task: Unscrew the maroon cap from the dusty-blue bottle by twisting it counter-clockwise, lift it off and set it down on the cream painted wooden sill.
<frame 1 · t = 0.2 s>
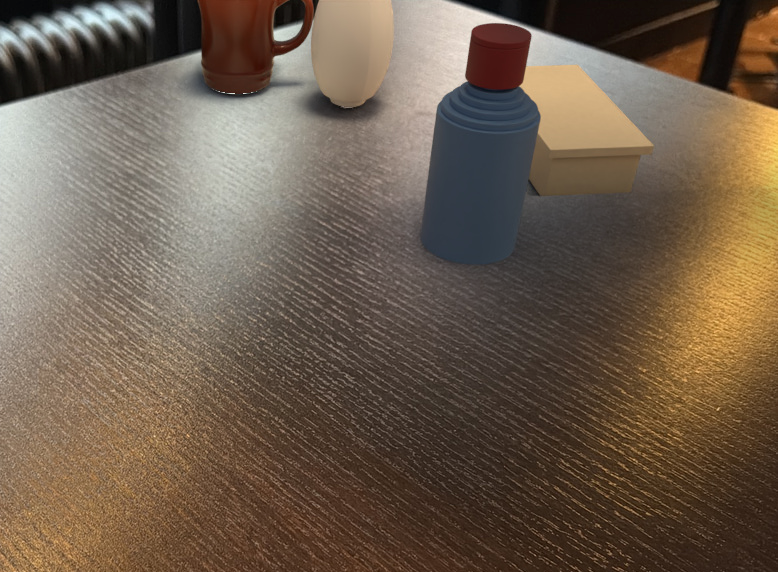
cap: (500, 38, 67), point 17 cm above the table, screwed on, not yet turned
sill: (554, 155, 92), on the table
bottle: (464, 258, 78), on the table
mug: (252, 86, 105), on the table
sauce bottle: (347, 106, 101), on the table
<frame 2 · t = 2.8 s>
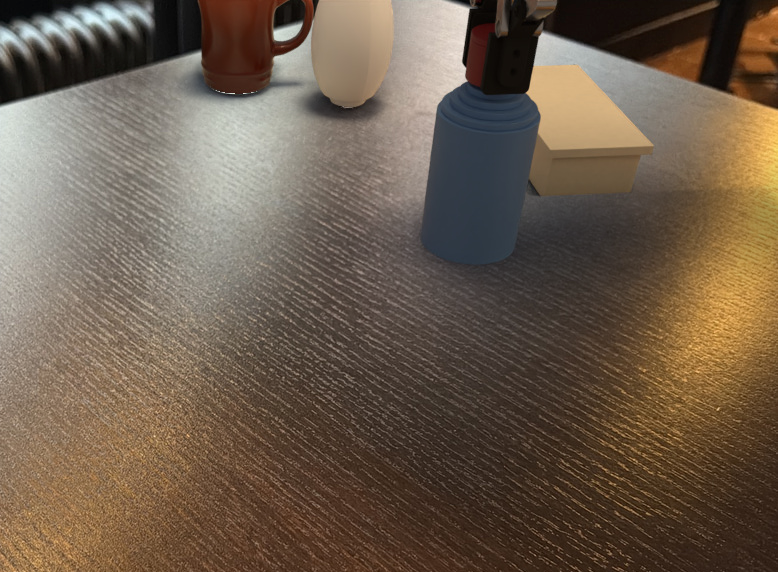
hand: (494, 76, 69), 14 cm above the table, tool pointing down, fingers closed on cap, 3 cm apart
cap: (500, 38, 67), point 17 cm above the table, screwed on, not yet turned, touching gripper
everything else where it was.
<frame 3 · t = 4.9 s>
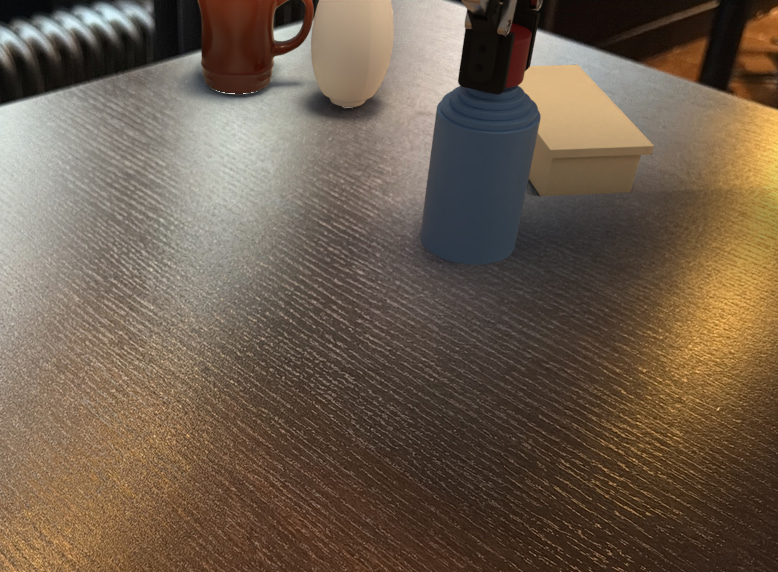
hand: (494, 75, 69), 15 cm above the table, tool pointing down, fingers closed on cap, 3 cm apart
cap: (500, 37, 67), point 17 cm above the table, turned 142° so far, risen 0.1 cm, still on its thread, touching gripper
everything else where it was.
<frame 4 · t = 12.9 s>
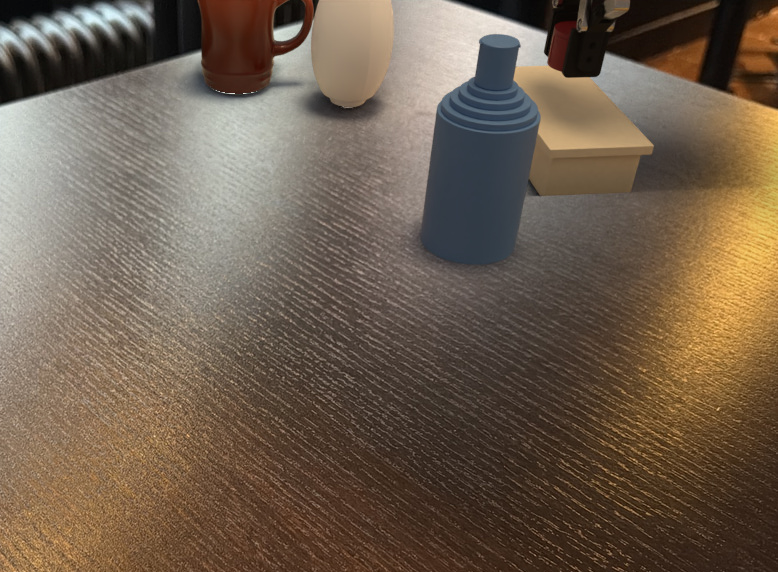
hand: (571, 63, 87), 9 cm above the table, tool pointing down, fingers closed on cap, 3 cm apart
cap: (577, 33, 85), point 11 cm above the table, off its thread, touching gripper
everything else where it was.
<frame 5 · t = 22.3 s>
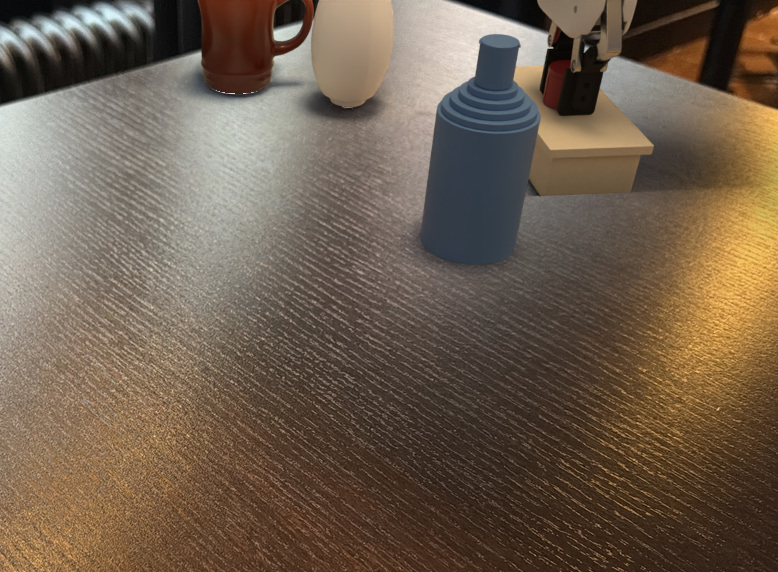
hand: (566, 101, 89), 5 cm above the table, tool pointing down, fingers closed on cap, 3 cm apart
cap: (571, 72, 87), point 8 cm above the table, off its thread, touching gripper
everything else where it was.
when the fingers open (7 cm above the table, at t = 23.1 s): cap drops 2 cm, resting on sill.
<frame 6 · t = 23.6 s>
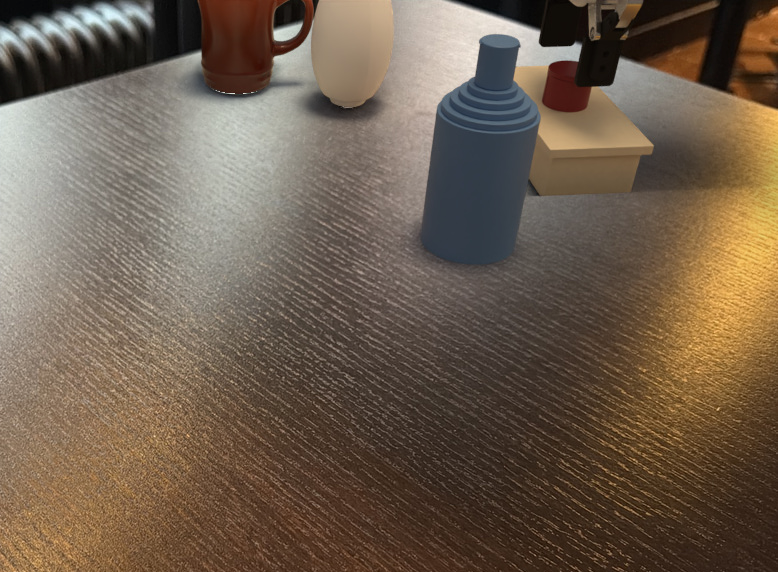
hand: (573, 64, 87), 9 cm above the table, tool pointing down, fingers open, 8 cm apart
cap: (571, 73, 87), point 8 cm above the table, off its thread, touching sill
everything else where it was.
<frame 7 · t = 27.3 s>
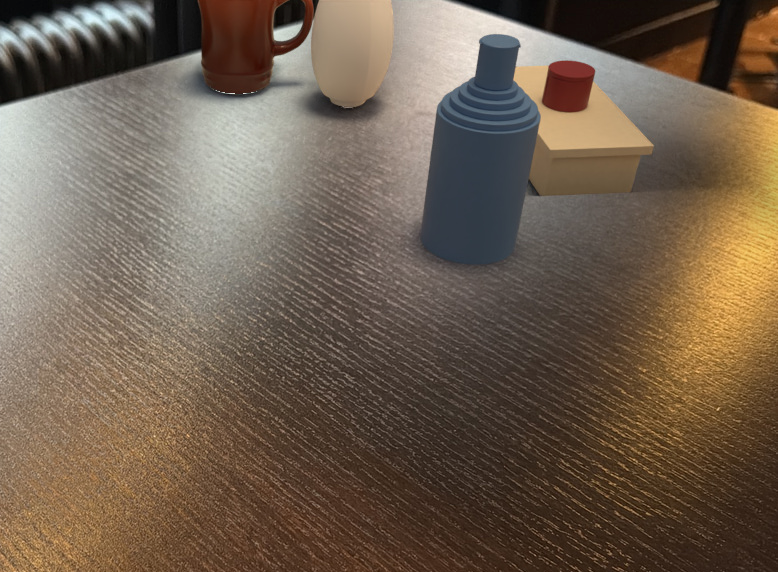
nothing on the table moved.
at the end: cap inside the target area on the sill (0.1 cm from its centre), point 7.7 cm above the sill's base; the gripper is holding nothing; bottle moved 0.0 cm from its start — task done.
